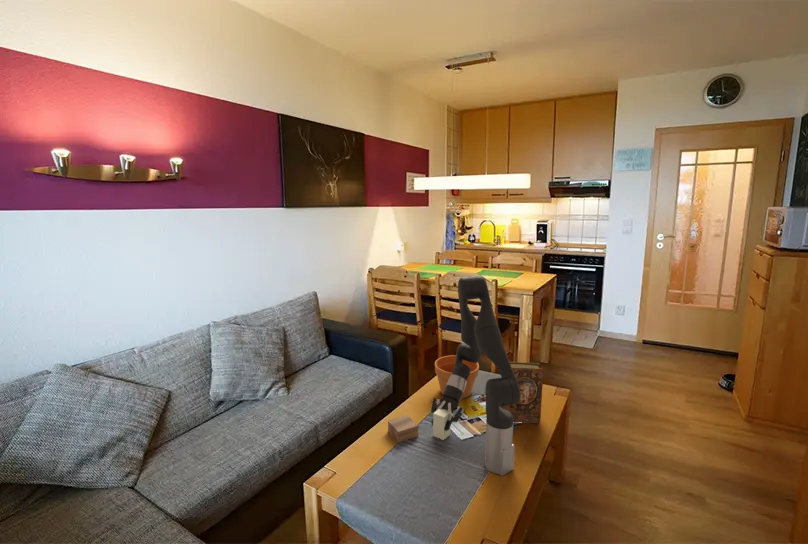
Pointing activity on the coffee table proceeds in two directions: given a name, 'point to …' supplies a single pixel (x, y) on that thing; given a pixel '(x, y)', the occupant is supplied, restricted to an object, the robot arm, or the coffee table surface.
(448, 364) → the flower pot
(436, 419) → the cream rectangular block
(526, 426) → the coffee table surface
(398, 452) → the coffee table surface
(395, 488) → the coffee table surface
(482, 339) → the robot arm
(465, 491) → the coffee table surface
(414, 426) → the walnut base block
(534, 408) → the book
